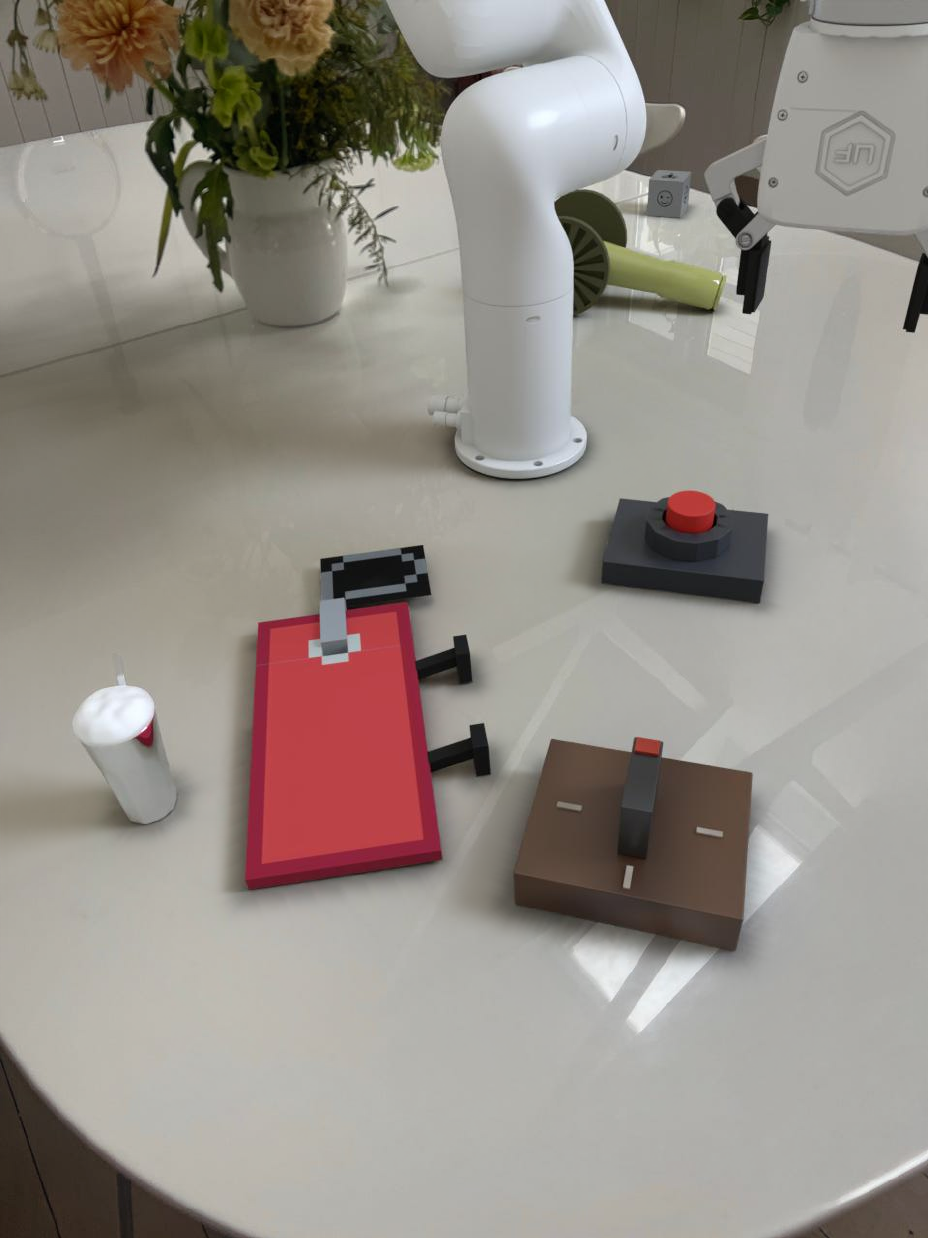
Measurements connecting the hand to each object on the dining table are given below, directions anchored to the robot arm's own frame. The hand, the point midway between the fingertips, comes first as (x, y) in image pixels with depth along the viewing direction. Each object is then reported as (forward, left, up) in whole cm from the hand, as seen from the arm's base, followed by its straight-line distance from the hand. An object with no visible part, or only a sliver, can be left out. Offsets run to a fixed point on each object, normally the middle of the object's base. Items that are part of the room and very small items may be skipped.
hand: (829, 314), depth 60 cm
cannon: (-20, +52, -21) cm, 60 cm away
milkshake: (-37, -31, -21) cm, 53 cm away
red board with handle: (-27, -19, -21) cm, 39 cm away
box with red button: (-7, -28, -18) cm, 34 cm away
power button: (-7, +1, -17) cm, 19 cm away
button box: (-7, +1, -21) cm, 22 cm away
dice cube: (-18, +87, -21) cm, 91 cm away
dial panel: (-7, -28, -21) cm, 36 cm away
